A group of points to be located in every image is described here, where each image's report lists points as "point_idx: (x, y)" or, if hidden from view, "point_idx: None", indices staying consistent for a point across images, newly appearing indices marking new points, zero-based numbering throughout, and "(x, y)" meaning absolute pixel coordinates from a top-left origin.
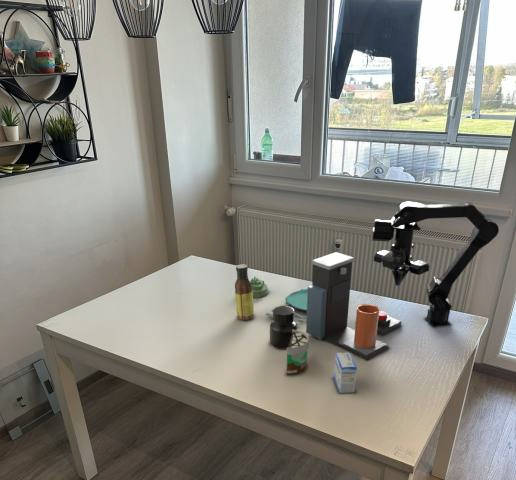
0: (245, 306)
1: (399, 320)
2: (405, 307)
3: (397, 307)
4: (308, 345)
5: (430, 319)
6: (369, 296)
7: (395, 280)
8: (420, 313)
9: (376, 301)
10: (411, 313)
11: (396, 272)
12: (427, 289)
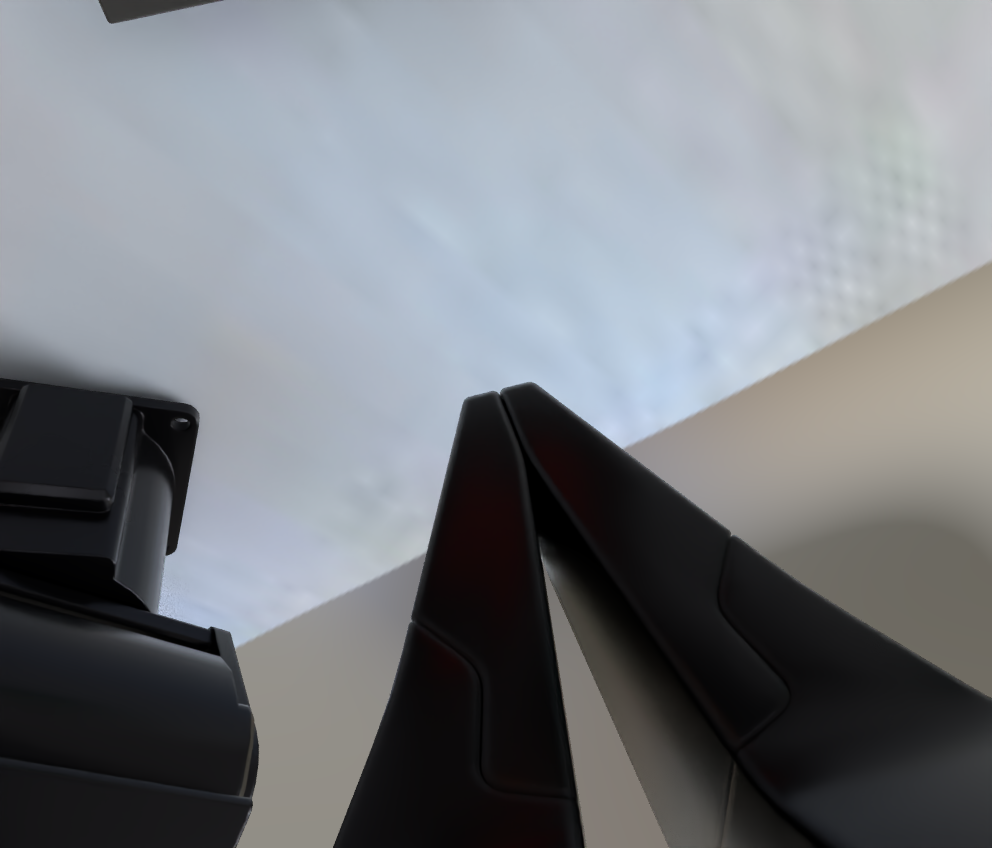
0: None
1: (145, 10)
2: None
3: (590, 331)
4: None
5: (17, 412)
6: (972, 245)
7: (589, 463)
8: (342, 439)
9: (848, 231)
10: (390, 367)
11: (718, 767)
12: (219, 740)
